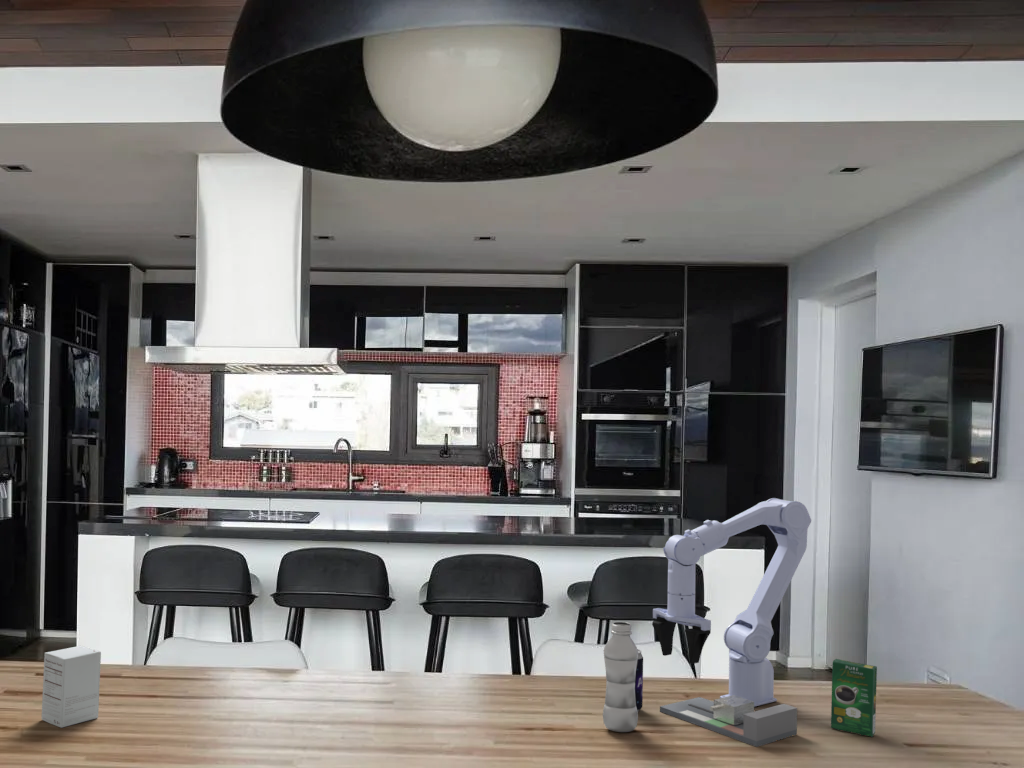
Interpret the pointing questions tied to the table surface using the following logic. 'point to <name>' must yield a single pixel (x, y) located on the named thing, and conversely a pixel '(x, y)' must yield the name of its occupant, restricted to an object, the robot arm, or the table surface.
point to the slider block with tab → (732, 709)
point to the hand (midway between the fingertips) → (680, 658)
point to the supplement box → (71, 686)
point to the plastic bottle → (620, 680)
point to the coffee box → (853, 697)
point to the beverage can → (639, 681)
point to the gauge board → (753, 731)
